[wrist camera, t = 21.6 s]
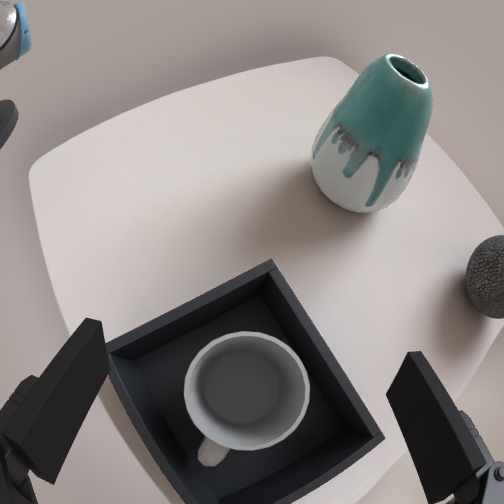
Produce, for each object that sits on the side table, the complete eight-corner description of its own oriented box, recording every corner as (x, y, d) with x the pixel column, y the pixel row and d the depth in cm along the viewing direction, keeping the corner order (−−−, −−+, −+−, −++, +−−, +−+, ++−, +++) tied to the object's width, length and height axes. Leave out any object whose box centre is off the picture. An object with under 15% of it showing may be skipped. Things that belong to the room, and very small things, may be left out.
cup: (296, 368, 24) (328, 361, 16) (246, 464, 20) (256, 502, 12) (222, 333, 25) (219, 310, 17) (170, 429, 21) (143, 452, 13)
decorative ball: (485, 342, 27) (542, 321, 18) (441, 296, 30) (497, 263, 20) (502, 285, 31) (549, 258, 22) (462, 242, 33) (507, 204, 24)
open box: (126, 356, 24) (96, 347, 18) (261, 286, 28) (271, 258, 22) (216, 504, 19) (214, 537, 13) (350, 428, 23) (386, 438, 17)
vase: (400, 225, 33) (486, 123, 17) (313, 227, 32) (379, 92, 16) (373, 154, 38) (426, 52, 22) (295, 149, 36) (329, 25, 20)
